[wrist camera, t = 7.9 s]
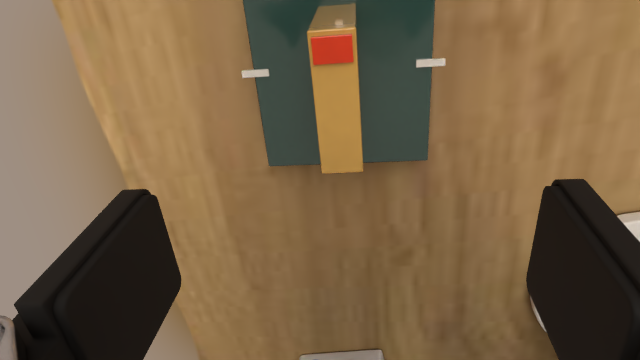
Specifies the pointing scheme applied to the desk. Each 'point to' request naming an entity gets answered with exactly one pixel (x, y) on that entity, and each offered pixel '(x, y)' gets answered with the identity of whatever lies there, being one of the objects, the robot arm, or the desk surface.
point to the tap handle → (336, 87)
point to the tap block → (374, 67)
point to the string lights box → (346, 355)
